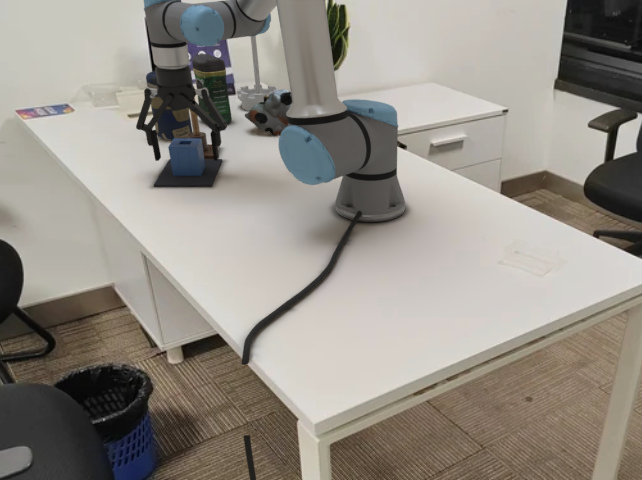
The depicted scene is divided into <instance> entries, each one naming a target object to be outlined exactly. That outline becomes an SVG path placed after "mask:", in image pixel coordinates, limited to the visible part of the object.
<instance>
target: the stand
mask: <svg viewBox="0 0 642 480" xmlns="http://www.w3.org/2000/svg"><path fill="white" fill-rule="evenodd" d="M194 100H195V101H196V96H195V97H194ZM189 113H190V120H191V126H192V133H189V134H188V137H187V138H193V139H201V140H202V146H203V153H204V159H214V156H213V149H212V143H211V144H208V139H207V133H205V132H203V131H201V129H200V124H199V117H198V116H197V115H196V114H195V113H194V112H193V111H191V110H190V109H189ZM220 149H221V145H220V146H218V153H219V152H220Z"/></svg>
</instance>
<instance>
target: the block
mask: <svg viewBox="0 0 642 480" xmlns="http://www.w3.org/2000/svg"><path fill="white" fill-rule="evenodd" d="M167 148H168V153H169V159H170V160H171V165H172V171H173V176H201V175H202V173H203V171H204V169H205V160H204V153H203V146H202V140H201V139H193V138H188V137H187V138H174V139H173V140H171V142H170V143H169V144H168V146H167Z"/></svg>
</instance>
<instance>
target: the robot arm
mask: <svg viewBox="0 0 642 480" xmlns="http://www.w3.org/2000/svg"><path fill="white" fill-rule="evenodd" d="M326 5H327V4H326V0H218V1H207V2H197V3H189V2H182V0H143V6H144V7H143V11H144V14H145V20H146V25H147V31H148V35H149V41H150V46H151V52H152V60H153V64H154V65H155V66H156V67H155V68H154V71H156V77H157V82H158V89H154V88H151V87H150V86H147V87H146V88H144V90H143V94H144V95H143V96H144V100H143V102H142V106H141V109H140V113H139V115H138V119H137V122H136V125H135V129H136V130H138V131H143V132H144V133H145V136H146V142H147V145H148V146H149V147H152V151H153V155H154V160H155V162H159V161H160V160H161V158H162V154H161V149H160V143H159V137H158V136H157V132H156V129H153V128H155V124H156V122H157V121H158V119H159V118H160V117H161V115H162V114H163V112H164V111H165V109H166V108H167V106H168V107H169V108H171V109H177V108H179V109H186V108H189V111H190V110H191V111H193V112H194V113H195V114H196V115H197V116H198V119H200V120H201V122H202V123H204V124H205V125H206V126H207V128H209V129H210V130H211V131H210V141H211V144H212V149H213V156H214V161H217V160H218V159H220V155H219V154H220V153H219V152H218V146H220V147H221V144H222V136H221V132H222V131H226V129H227V128H228V123H226V122H225V120H224V118H223V117H222V115H221V114H220V112H219V110H218V109H217V107H216V106H215V104H214V102H213V101H212V99H211V98H210V95H209V91H208V88H207V87H204V88H203V89H197V88H195V86H194V83H193V76H192V68H191V66H189V64H190V55H189V48H188V43H189V44H192V45H195V46H197V47H214V46H216V45H217V44H218V43H219V42H220V41H225V40H231V39H238V38H247V37H251V36H256V37H257V36H258V35H263V34H265V33H266V32H267V31H268V30H269V29H270V27H271V25H270V24H271V22H272V14H271V13H272V12H273V11H274V9H275V8H276V10H277V15H278V21H279V27H280V33H281V34H280V35H281V40H282V46H283V53H284V58H285V65H286V71H287V77H288V83H289V84H288V85H289V91H291V96H292V102H293V103H292V105H291V107H290V108H289V110H288V111H287V112H286V116H287V122H288V127H286V128H285V129H284V130H283V131H282V132H281V134H279V135H280V136H279V137H278V151H279V154H280V158H281V160H282V162H283V165H284V167H285V168H286V170H287V171H288V172H289V173H291V174H292V177H294V178H295V179H296V180H297V181H299V182H301V183H302V184H305V185H309V186H317V185H320V184H324V183H325V184H327V183H330V182H332V181H334V180H336V179H339V178H341V181H340V184H339V187H338V191H337V195H336V198H335V211H336V213H337V214H338V215H339V216H341V217H342V218H345V219H347V220H350V221H351V222H350V224H349V225H348V227H347V229H346V231H344V234H343V236H342V237H341V239H340V241H339V242H338V244H337V246H336V248H335V249H334V251H333V253H332V256H331V258H330V259H329V261H328V264H326V265H327V266H326V267H325V268H324V269H323V271H321V273H320V274H319V275H318V276H317V277H315V279H313V280H312V281H311V282H310V283H309V284H307V285H306V286H305V287H304V288H303V289H302V290H300V291H299V292H297V293H296V294H295V295H293V296H291V298H290V299H288V300H287V301H285V302H284V303H282V304H281V305H280V306H278V307H277V308H276V309H274V311H272V312H270V313H269V314H267V315H266V316H265V317H264V318H262V319H261V320H260V321H258V322H257V323H256V325H254V326H253V327H252V329H251V330H250V331H249V333H248V334H247V336H246V338H245V339H244V343H243V350H242V357H241V365H243V366H245V365H246V366H247V365H248V364H249V362H250V354H251V348H252V347H251V346H252V342H253V340H254V338H255V337H256V335H257V334H258V333H259V332H260V331H261V330H262V329H263V328H264V327H265V326H266V325H268V324H269V323H270V322H271V321H273V320H275V319H276V318H278V317H279V316H280V315H281V314H282V313H283V312H285V311H286V310H287V309H289V308H290V307H291V306H292V305H294V304H295V303H297V302H298V301H300V300H301V299H302V298H304V297H305V296H306V295H307V294H309V293H310V292H311V291H312V290H313V289H314V288H316V287H317V286H318V285H319V284H320V283H321V282H322V281H323V280H324V279H325V278H326V277H327V275H329V273H330V272H331V270H332V269H333V267H334V266H335V263H336V261H337V259H338V257H339V255H340V253H341V251H342V249H343V247H344V245H345V243H346V242H347V240H348V238H349V237H350V235H351V233H352V232H353V229H354V227H355V226H356V224H357V223H358V222H362V223H381V222H387V221H391V220H394V219H397V218H398V217H400V216H402V215H403V214H404V212H405V211H406V210H405V209H406V205H405V204H406V200H405V197H404V194H403V191H402V187H401V184H400V181H399V178H398V140H399V139H398V138H399V137H398V136H399V135H398V133H399V130H398V129H399V124H398V111H397V110H396V108H395V107H394V106H393V105H391V104H388V103H386V102H382V101H377V100H369V99H360V98H359V99H356V98H355V99H345V100H343V101H341V100H340V99H339V97H338V96H339V95H338V89H337V81H336V75H335V67H334V59H333V51H332V44H331V43H332V42H331V37H330V36H331V35H330V29H329V22H328V12H327V6H326ZM156 94H158V96H159V97H160V98H161V99H162V100H163V103H162V104H161V106H160V107H159V109H158V110H157V112H156V113H155V115H154V116H153V115H152V117H151V119H150V121H149V122H148V124H146V121H147V117H148V114H149V112H150V111H149V110H150V108H151V102H152V99H153V98H154V97H155V95H156ZM196 96H197V97H198V96H199V97H200V98H201V99H203V101H204V103H205V104H206V106H207V108H208V109H209V111H210V112H211V114H212V115H213V117H214V119H215V120H216V122H217V123H218V124H217V123H216V122H215V121H214V120H213V119H212V118H211V117H210V116H209V115H208V114H207V113H206V112H205V111H204V110H203V109H202V108H201V107H200V106H199V103H198V101H196V99H195V100H194V97H195V98H196ZM243 444H244V450H245V457H246V458H245V459H246V464H247V471H248V474H249V480H257V475H256V468H255V462H254V455H253V448H252V441H251V435H250V434H247V435H245V434H244V435H243Z"/></svg>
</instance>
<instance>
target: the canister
mask: <svg viewBox="0 0 642 480" xmlns="http://www.w3.org/2000/svg"><path fill="white" fill-rule="evenodd" d="M145 80H146V86H147V87H148V86H150V87H151V88H154V89H158V82H157V77H156V71H155V70H152V71H149V72H148V73H147V74H146V75H145ZM162 103H163V100H162V99H161V98H160V97H159V96H158V94H156V95H155V97H154V98H153V99H152V102H151V105H150V108H151V114H152V117H153V116H154V115H155V113H156V112H157V110H158V109H159V107H160V106H161V104H162ZM154 128H155V129H154V130H156V132H157V137H158V138H159V139H163V140H166V141H172V140H173V139H174V138H188V134H189V133H192V132H193V127H192V120H191V114H190V109H189V108H186V109H179V108H177V109H171V108H169V107H168V106H167V108H166V109H165V111H164V112H163V114H162V115H161V117H160V118H159V119H158V121H157V122H156V124H155V125H154Z"/></svg>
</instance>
